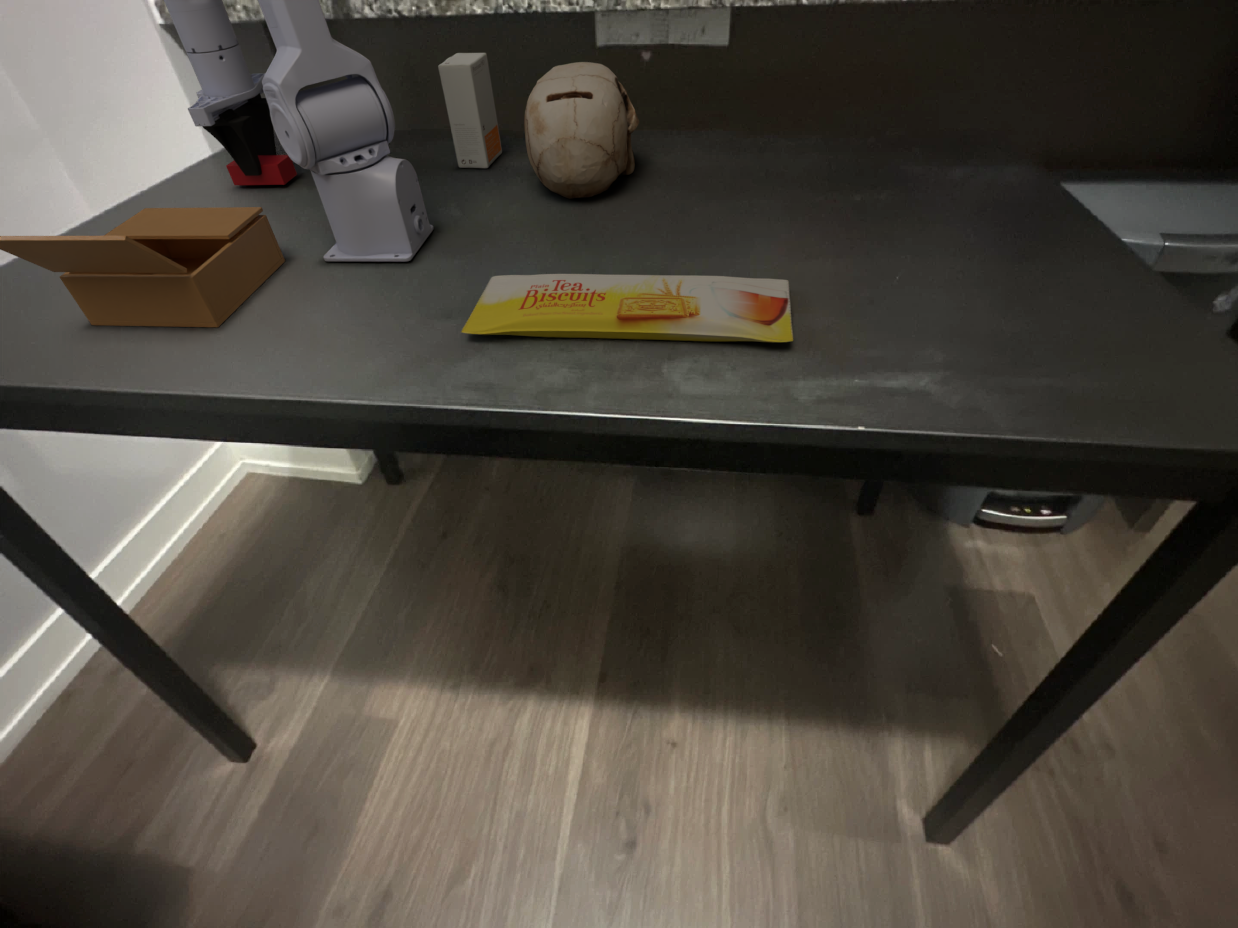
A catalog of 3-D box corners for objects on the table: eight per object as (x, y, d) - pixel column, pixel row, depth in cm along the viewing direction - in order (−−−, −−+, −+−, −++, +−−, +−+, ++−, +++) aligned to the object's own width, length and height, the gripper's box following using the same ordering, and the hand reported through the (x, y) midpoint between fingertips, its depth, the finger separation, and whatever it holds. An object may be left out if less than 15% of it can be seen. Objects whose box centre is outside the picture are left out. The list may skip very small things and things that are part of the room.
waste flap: (125, 235, 52) (124, 240, 52) (187, 268, 59) (186, 273, 59) (-21, 235, 54) (-22, 240, 54) (54, 267, 60) (53, 272, 60)
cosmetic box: (489, 169, 88) (469, 64, 80) (458, 168, 89) (435, 65, 81) (504, 152, 92) (487, 51, 84) (474, 152, 93) (455, 52, 85)
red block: (297, 174, 89) (290, 154, 88) (284, 184, 87) (276, 164, 85) (248, 175, 90) (240, 155, 89) (234, 185, 88) (225, 165, 86)
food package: (456, 321, 56) (489, 264, 64) (462, 344, 58) (494, 286, 65) (795, 329, 52) (790, 267, 60) (792, 354, 54) (787, 291, 61)
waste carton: (285, 260, 72) (262, 206, 68) (218, 327, 62) (187, 268, 58) (173, 260, 73) (144, 207, 70) (91, 325, 64) (53, 268, 60)
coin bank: (603, 142, 92) (598, 30, 82) (676, 195, 82) (679, 75, 72) (498, 174, 87) (478, 59, 77) (561, 235, 78) (548, 112, 67)
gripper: (215, 34, 84) (261, 149, 93) (141, 65, 74) (201, 191, 83) (268, 31, 83) (309, 148, 93) (201, 62, 73) (255, 190, 82)
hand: (261, 168), depth 88 cm, fingers closed on red block, 3 cm apart
